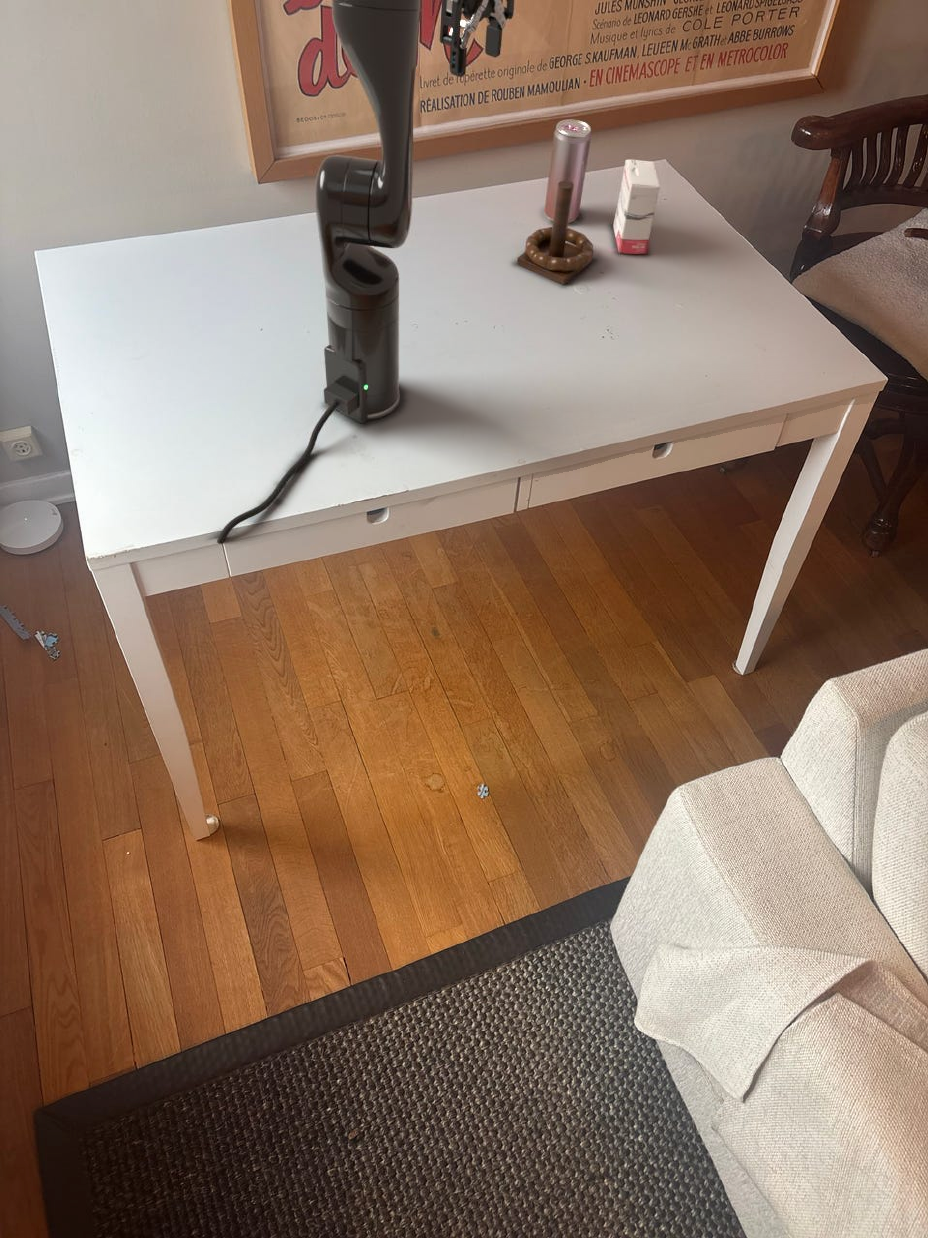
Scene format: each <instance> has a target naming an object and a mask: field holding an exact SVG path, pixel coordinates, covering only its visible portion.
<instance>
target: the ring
mask: <svg viewBox="0 0 928 1238" xmlns="http://www.w3.org/2000/svg"><path fill="white" fill-rule="evenodd" d="M551 233H552V226H549V227H545V228H539V229H537V230H535V231H533V233H531V234H530V235H528V236H527V238H526V241H525V248H524V253H525V252H526V254H527V255H528V257H529V258H530V259H531V260H532V261H533V263H535V264H537V265H539V266H541V267H543V268H545V269H548V270H553V271H562V272H568V271H573V270H577V269H581V268H583V267H584V266H585V265H587V264H588V263H589V262H590V261H591V260H592V259H594V244H593V243H592V241H590V239H589V238H588V237H587V235H585V234H584V233H582V232H579V231H577V230H574V229H572V228H570V227H568V228H567V235H566V243H568V244H571V245H573V246H575V247H577V248H579V249H580V250H581V253H580V254H579V255H577V256H575V257H570V258H558V257H551V256H549V255H547V254H545V253H542V252H541V251H540V249H539V248H538V245H539V244H541V243H542V242H545V241H550V240H551ZM592 261H593V260H592ZM590 263H591V262H590ZM590 263H589V264H590ZM589 264H588V265H589ZM588 265H587V266H588ZM584 268H585V267H584ZM584 268H583V269H584Z"/></svg>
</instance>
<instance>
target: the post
mask: <svg viewBox="0 0 928 1238" xmlns="http://www.w3.org/2000/svg"><path fill="white" fill-rule="evenodd" d="M573 188H574V184H573V183H572V182H570V181H560V182H559V183H558V190H557V197H556V204H555V212H554V219H553V221H552V226H551V227H552V233H551V240H550V241H545V242H542V243H541V244H539V245H538V248H539V249H540V251H541V252H542V253H545V254H547V255H549V256H551V257H558V258H570V257H575V256H577V255H579V254H580V253H581V250H580V249H579V248H578V247H577V246H576V245H573V244H571V243H569V242H567V241H566V235H567V228H569V223H568V222H569V215H570V208H571V202H572V195H573ZM593 259H594V258H593ZM593 259H592V260H591V261H590V262H589V263H588V264H587V265H585V266H584V267H583V268H581V269H577V270H573V271H568V272H562V271H553V270H548V269H545V268H543V267H541V266H539V265H537V264H535V263H533V261H532V260H531V259H530V258H529V257H528V255H527V254H526V252H525V251H524V252H523V253H522V254H520V255H519V256H518V257H517V262H516V265H519V266H520V267H523V268H525V269H527V270H529V271H532V272H533V273H536V274H538V275H541V276H543V277H545V278H547V279H549V280H552V281H554V282H556V283H558V284H561V285H565V284H566V283H568V282H569V281H570V280H571V279H572V278H574V277H575V276H576V275H577V274H578V273H580V272H581V271H583V270H584V269H585V268H586V267H587V266H589V264H591V263H592V262H593V261H594V260H593Z"/></svg>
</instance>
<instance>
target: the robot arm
mask: <svg viewBox="0 0 928 1238" xmlns="http://www.w3.org/2000/svg"><path fill="white" fill-rule="evenodd" d="M505 1H506V6H504V5H503V2H504V1H503V0H441V13H440V28H439V43H440V44H442V45H446V46H449V51H450V52H449V72H450V74H451V75H453V76H456V77H458V78H462V77H464V76H465V75H466V72H467V57H468V55H467V53H468V47H467V45H468V42H469V40H470V37H471V35H472V34H473V33H475V32H476V31H477V27H478V25H479V23H480V22H482V21H483V20H484V19H485V21H486V23H487V25H486V29H485V30H486V31H485V46H484V52H485V54H486V55H487V56H490V57H492V58H497V57H500V55H501V51H502V50H501V49H502V41H503V40H502V39H503V30H504V28H505V27H506V24H507V20H512V19H513V17H514V14H515V0H505ZM421 13H422V0H331V17H332V23H333V26H334V29H335V32H336V35H337V38H338V40H339V43H340V45H341V47H342V49H343V52H344V53H345V55H346V58H347V60H348V62H349V63H350V65H351V67H352V69H353V71H354V73H355V75H356V77H357V79H358V81H359V83H360V85H361V87H362V88H363V91H364V93H365V95H366V98H367V100H368V102H369V105H370V108H371V110H372V113H373V116H374V119H375V122H376V126H377V130H378V134H379V139H380V147H381V156H382V160H381V159H380V160H379V159H372V158H365V157H359V156H351V155H343V154H331V155H328V156H326V157H325V158H324V159H323V160H322V162H321V163H320V165H319V168H318V171H317V174H316V178H315V188H314V204H315V213H316V223H317V231H318V232H317V233H318V239H319V247H320V255H321V256H320V257H321V266H322V267H321V269H322V275H323V276H322V277H323V279H324V290H325V302H326V305H325V306H326V319H327V332H328V333H327V335H328V336H327V337H328V345H327V346H325V347H324V349H323V353H324V368H325V381H326V382H325V383H326V387H325V388H324V389H323V398H324V399H323V400H324V404H326V405H328V408H326V410H325V411H324V413H323V414H322V415H321V417H320V418H319V420H318V421H317V423H316V425H315V426H314V428H313V429H312V432H311V435H310V438H309V441H308V444H307V446H306V448H305V450H304V452H303V454H302V455H301V456H300V457H299V459H298V460H297V461H296V462H295V463H294V464H292V466H291V467H290V468H289V469H288V470H287V471H286V473H285V474H284V475H283V477H282V478H281V479H280V481H279V482H278V484H277V485H276V486H275V488H274V489H273V491H272V492H271V494H269V496H268V497H267V498H266V499H265V500H264V501H263V502H261V503H260V504H259V505H257V506H255V507H254V508H252V509H249V510H248V511H245V512H243V513H240V514H239V515H236V516H235V517H234V518H233V519H231V520H230V521H229V522H228V523H226V525H225V526H224V527H223V528H222V530H221V532H220V534H219V535H218V538H217V540H216V543H217V544H223V543H224V542H225V541H226V539H227V536H228V535H229V533H230V532H231V531H232V530H233V529H234V528H235V527H236V526H237V525H239V524H240V523H242V522H244V521H245V520H248V519H251V518H252V517H255V516H256V515H259V514H260V513H262V512H263V511H266V509H267V508H269V507H270V506H271V505H272V503H274V501H276V499H277V498H278V496H279V495H280V494H281V492H282V491H283V489H284V488H285V487H286V485H287V484H288V482H289V481H290V479H291V478H292V477H293V475H294V474H296V473H297V471H298V470H299V469H300V468H302V466H304V464H305V463H306V461H307V460H308V459H309V457H310V456H311V454H312V452H313V450H314V449H315V446H316V443H317V439H318V436H319V434H320V432H321V430H322V428H323V427H324V425H325V424H326V422H327V421H328V419H329V418H330V417H331V416H332V414H333V413H334V411H337V412H339V413H341V414H343V415H344V416H346V417H349V418H350V419H353V420H354V421H356V422H357V423H360V424H364V423H365V422H366V421H368V420H375V419H380V418H382V417H385V416H388V415H389V414H391V413H392V412H393V411H394V410H396V408H397V407H398V405H399V403H400V401H401V400H400V399H401V397H400V396H401V394H400V393H401V392H400V273H399V272H400V271H399V269H398V267H397V265H396V264H395V262H394V261H393V259H391V258H390V257H389V256H388V255H386V254H384V253H383V252H381V251H380V250H377V249H376V248H383V249H400V248H401V247H402V246H404V244H405V242H406V241H407V238H408V236H409V233H410V229H411V223H412V217H413V204H414V203H413V199H414V108H415V107H414V106H415V105H414V103H415V84H416V83H415V82H416V72H417V60H418V50H419V49H418V47H419V37H420V23H421ZM462 15H463V17H464V18H465V20H464V19H462ZM466 20H469V21H466ZM449 28H450V31H449ZM461 29H462V30H463V31H462V34H461ZM374 247H375V248H374Z"/></svg>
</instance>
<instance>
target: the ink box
mask: <svg viewBox="0 0 928 1238" xmlns="http://www.w3.org/2000/svg"><path fill="white" fill-rule="evenodd" d="M660 188H661V185H660V182H659V177H658V174H657V171H656V166H655V161H653V160H640V159H625V162H624V168H623V172H622V179H621V183H620V189H619V194H618V200H617V204H616V209H615V214H614V220H613V226H612V227H613V231H614V236H615V242H616V245H617V251H618V253H619V254H628V255H629V254H630V255H642V254H647V250H648V246H649V240H650V235H651V230H652V226H653V222H654V217H655V212H656V206H657V202H658V198H659V192H660Z"/></svg>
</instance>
